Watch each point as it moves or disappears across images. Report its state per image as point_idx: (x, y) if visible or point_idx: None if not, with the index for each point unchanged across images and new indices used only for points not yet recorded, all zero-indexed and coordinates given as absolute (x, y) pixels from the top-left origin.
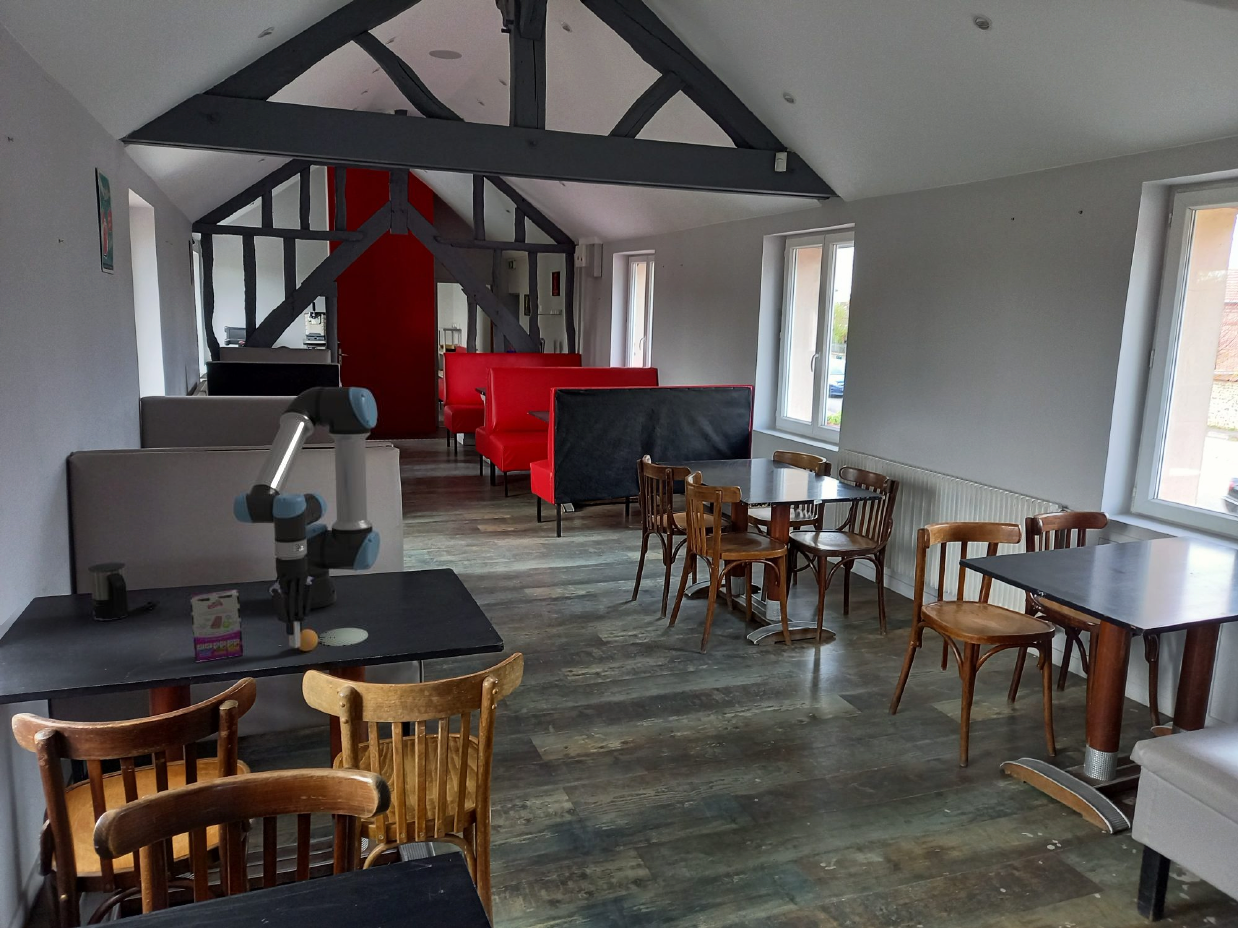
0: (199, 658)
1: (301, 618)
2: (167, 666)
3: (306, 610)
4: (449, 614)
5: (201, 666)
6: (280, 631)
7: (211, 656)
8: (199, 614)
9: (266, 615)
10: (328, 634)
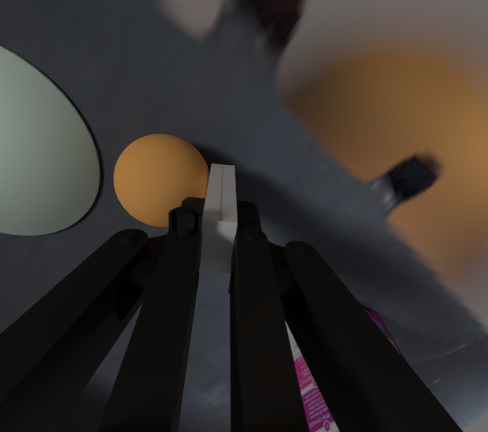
0: (378, 319)
1: (185, 227)
2: (406, 335)
3: (123, 257)
4: None
5: (391, 294)
6: (134, 323)
7: None
8: None
9: (100, 396)
10: (32, 211)
